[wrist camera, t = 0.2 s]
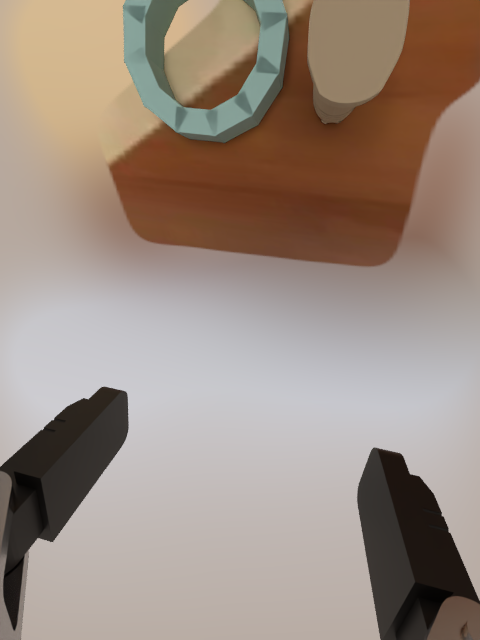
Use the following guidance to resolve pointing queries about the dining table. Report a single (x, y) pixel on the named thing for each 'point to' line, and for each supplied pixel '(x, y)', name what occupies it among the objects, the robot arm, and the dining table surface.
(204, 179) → the dining table surface
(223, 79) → the dining table surface
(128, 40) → the notched ring
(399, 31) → the handle
